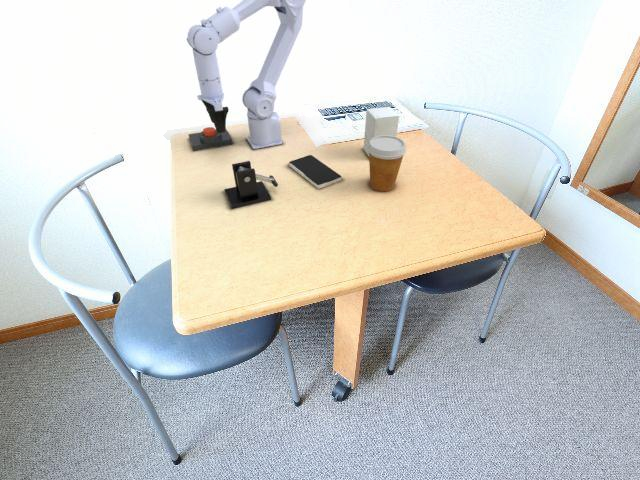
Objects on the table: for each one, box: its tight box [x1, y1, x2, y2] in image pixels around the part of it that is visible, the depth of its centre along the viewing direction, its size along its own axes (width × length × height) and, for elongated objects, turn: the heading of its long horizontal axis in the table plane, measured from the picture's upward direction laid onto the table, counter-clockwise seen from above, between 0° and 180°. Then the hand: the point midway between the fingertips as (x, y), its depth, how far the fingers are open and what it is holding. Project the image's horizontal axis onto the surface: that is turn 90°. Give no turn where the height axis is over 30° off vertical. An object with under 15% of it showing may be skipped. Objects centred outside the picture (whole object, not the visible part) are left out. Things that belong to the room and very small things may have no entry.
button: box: [202, 126, 216, 137], centre depth 113 cm, size 4×4×2 cm
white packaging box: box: [363, 106, 400, 157], centre depth 106 cm, size 7×7×13 cm
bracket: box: [223, 160, 272, 210], centre depth 91 cm, size 10×8×8 cm
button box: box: [187, 128, 233, 152], centre depth 115 cm, size 12×10×4 cm
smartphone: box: [288, 154, 342, 189], centre depth 102 cm, size 8×1×15 cm
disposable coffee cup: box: [367, 135, 407, 192], centre depth 93 cm, size 10×10×12 cm
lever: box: [237, 166, 279, 188], centre depth 91 cm, size 10×4×2 cm, turn 113°
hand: (218, 127), depth 106 cm, fingers open, 7 cm apart
